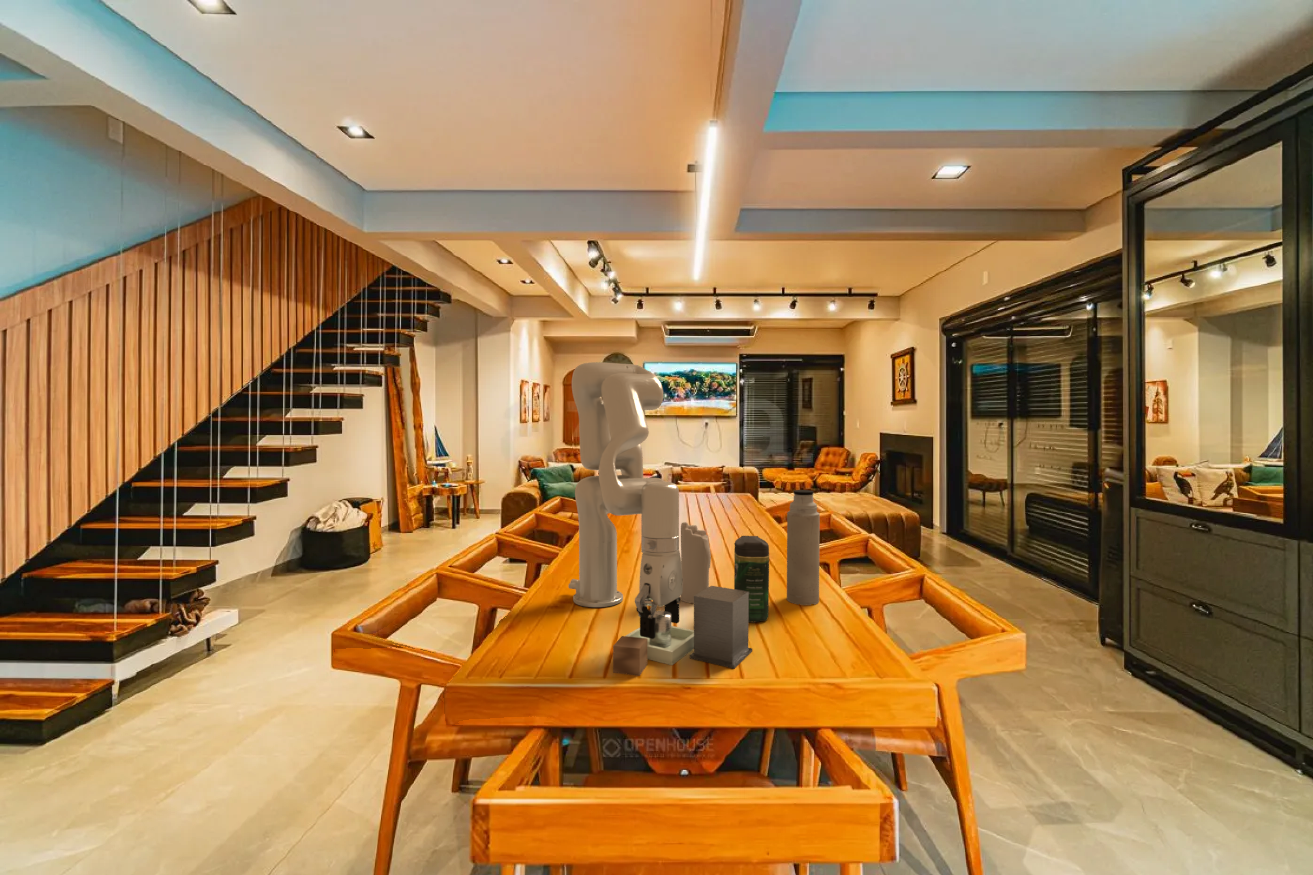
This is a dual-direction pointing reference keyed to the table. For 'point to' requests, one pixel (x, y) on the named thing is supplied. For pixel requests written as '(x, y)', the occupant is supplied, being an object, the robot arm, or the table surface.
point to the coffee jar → (753, 574)
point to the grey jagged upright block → (694, 561)
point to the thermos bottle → (803, 549)
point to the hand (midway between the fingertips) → (660, 629)
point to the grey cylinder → (662, 630)
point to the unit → (721, 626)
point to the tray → (679, 646)
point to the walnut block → (630, 655)
